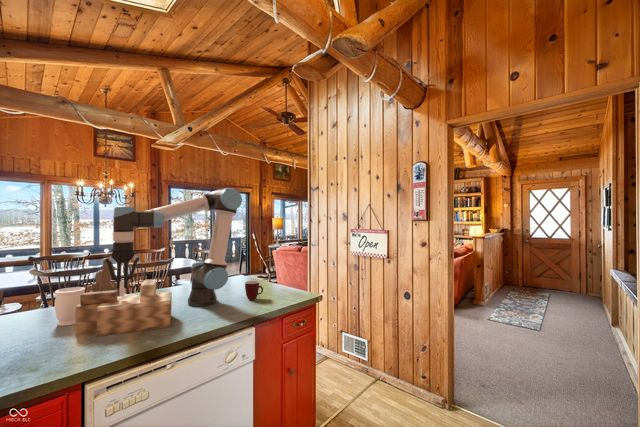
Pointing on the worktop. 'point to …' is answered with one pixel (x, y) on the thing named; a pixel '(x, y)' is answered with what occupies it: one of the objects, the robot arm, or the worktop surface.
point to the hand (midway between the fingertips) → (122, 295)
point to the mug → (252, 289)
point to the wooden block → (98, 297)
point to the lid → (139, 298)
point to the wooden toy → (104, 280)
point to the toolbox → (120, 319)
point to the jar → (67, 305)
